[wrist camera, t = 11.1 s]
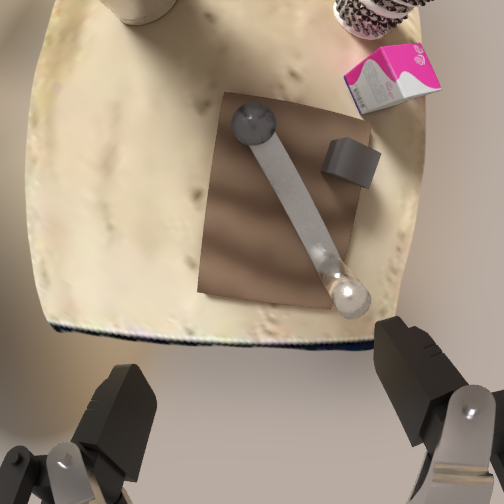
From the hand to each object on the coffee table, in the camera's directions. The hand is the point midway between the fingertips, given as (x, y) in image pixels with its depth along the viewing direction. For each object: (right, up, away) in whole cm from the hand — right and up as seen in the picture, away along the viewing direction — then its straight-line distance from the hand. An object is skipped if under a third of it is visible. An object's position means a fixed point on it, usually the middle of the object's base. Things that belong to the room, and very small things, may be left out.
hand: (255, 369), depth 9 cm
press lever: (+4, +10, +24) cm, 27 cm away
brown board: (+4, +10, +27) cm, 29 cm away
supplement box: (+15, +25, +22) cm, 37 cm away
